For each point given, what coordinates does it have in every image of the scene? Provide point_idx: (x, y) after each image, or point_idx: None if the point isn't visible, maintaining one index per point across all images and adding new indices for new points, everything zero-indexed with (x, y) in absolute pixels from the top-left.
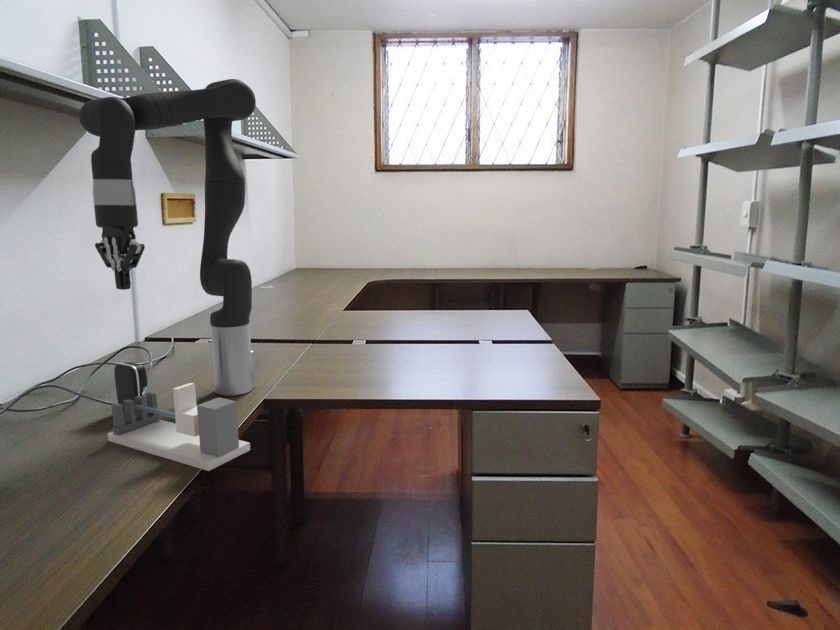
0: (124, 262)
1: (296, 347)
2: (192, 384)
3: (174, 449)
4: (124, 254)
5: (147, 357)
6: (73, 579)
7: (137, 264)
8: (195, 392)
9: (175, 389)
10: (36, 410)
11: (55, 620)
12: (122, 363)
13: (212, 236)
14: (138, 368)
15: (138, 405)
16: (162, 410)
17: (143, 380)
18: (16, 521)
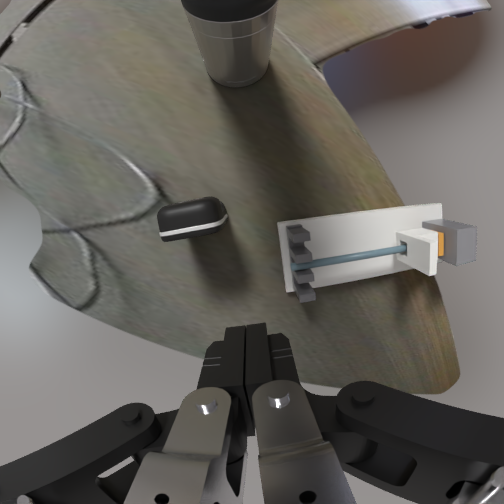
0: (367, 469)
1: None
2: (436, 246)
3: (397, 265)
4: (210, 495)
5: (9, 103)
6: (447, 372)
7: (397, 390)
8: (429, 239)
9: (433, 274)
10: (98, 293)
11: (457, 380)
12: (165, 227)
13: None
14: (214, 217)
15: (315, 266)
16: (366, 256)
17: (220, 208)
18: None
